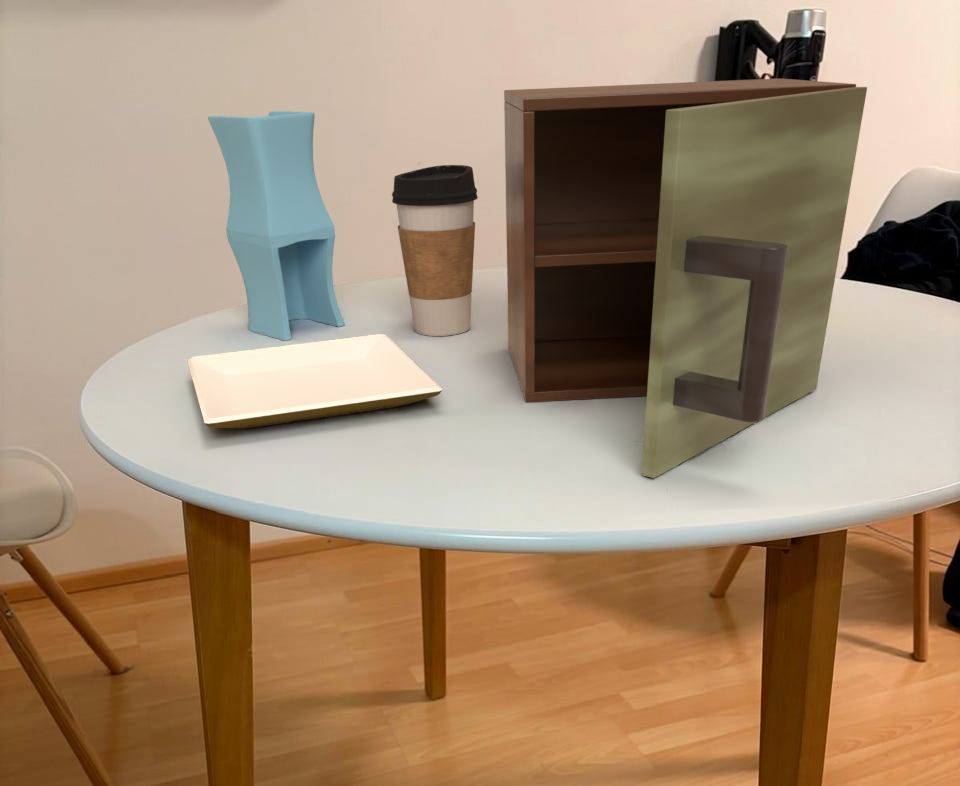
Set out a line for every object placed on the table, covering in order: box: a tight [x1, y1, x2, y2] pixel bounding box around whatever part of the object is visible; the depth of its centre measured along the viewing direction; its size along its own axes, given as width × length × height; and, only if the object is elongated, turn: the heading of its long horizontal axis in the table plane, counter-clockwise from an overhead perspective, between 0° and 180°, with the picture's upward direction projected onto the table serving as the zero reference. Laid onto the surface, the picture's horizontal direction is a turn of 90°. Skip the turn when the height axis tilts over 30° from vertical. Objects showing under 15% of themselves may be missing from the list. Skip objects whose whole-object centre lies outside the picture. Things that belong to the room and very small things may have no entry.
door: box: [641, 86, 868, 479], centre depth 60 cm, size 7×24×21 cm, turn 137°
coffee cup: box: [391, 164, 479, 337], centre depth 92 cm, size 8×8×15 cm
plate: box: [187, 333, 443, 430], centre depth 78 cm, size 19×19×2 cm
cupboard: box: [503, 78, 857, 403], centre depth 76 cm, size 16×24×22 cm
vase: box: [207, 110, 346, 342], centre depth 93 cm, size 8×8×20 cm
